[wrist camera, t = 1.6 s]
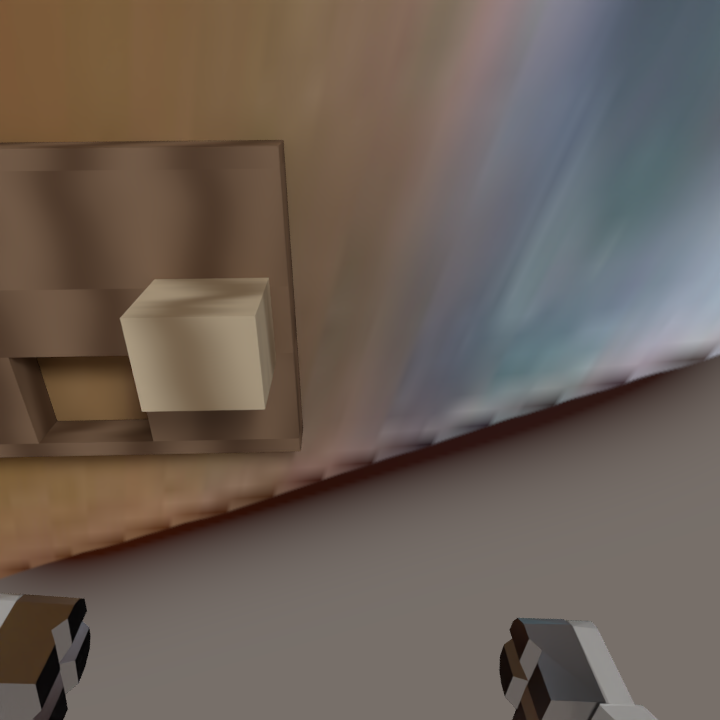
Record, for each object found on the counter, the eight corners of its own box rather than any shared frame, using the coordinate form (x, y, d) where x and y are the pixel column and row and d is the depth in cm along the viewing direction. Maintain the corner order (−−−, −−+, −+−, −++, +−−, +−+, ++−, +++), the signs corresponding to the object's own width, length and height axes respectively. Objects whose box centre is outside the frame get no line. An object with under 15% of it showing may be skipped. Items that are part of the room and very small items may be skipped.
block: (268, 277, 29) (255, 315, 24) (276, 360, 31) (265, 409, 27) (154, 279, 29) (119, 318, 24) (170, 362, 31) (142, 411, 27)
